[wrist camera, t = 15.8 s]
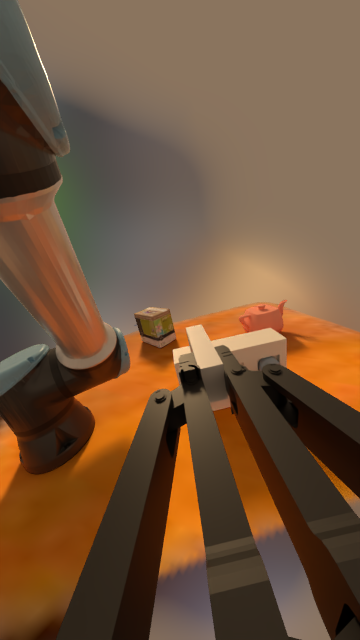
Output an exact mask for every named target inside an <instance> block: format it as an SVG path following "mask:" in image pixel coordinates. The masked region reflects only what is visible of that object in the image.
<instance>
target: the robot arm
mask: <svg viewBox="0 0 360 640" xmlns="http://www.w3.org/2000/svg"><path fill="white" fill-rule="evenodd" d="M69 151H70V145H69V140H68V137H67V134H66V132H65V129H64V125H63V123H62V120H61V117H60V114H59V110H58V107H57V103H56V101H55V98H54V95H53V92H52V89H51V87H50V84H49V81H48V79H47V76H46V73H45V70H44V68H43V65H42V62H41V59H40V57H39V54H38V52H37V49H36V46H35V43H34V41H33V38H32V36H31V33H30V30H29V28H28V25H27V23H26V20H25V17H24V15H23V12H22V10H21V7H20V5H19V2H18V0H0V279H1V280H2V281H3V282H4V284H5V285H6V286H7V287H8V288H9V290H10V291H11V292H12V293H13V294H14V295H15V296H16V298H17V299H18V300H19V301H20V302H21V303H22V305H23V306H24V307H25V308H26V309H27V310H28V312H29V313H30V314H31V315H32V316H33V317H34V318H35V320H36V321H37V322H38V323H39V324H40V325H41V327H42V328H43V329H44V330H45V331H46V332H47V333H48V335H49V336H50V337H51V338H52V339H53V340H54V341H55V343H56V344H57V345H56V348H53V349H49V347H48V346H47V345H45V344H40V345H35V346H32V347H29V348H27V349H24V350H22V351H20V352H18V353H16V354H14V355H12V356H10V357H9V358H7V359H5V360H4V361H2V362H0V415H1V417H2V418H3V419H4V420H5V422H6V423H7V424H8V426H9V427H10V428H11V430H12V431H13V432H14V434H15V435H16V436H17V441H18V446H19V449H20V462H21V464H22V465H23V467H24V468H25V469H26V470H27V471H28V472H29V473H32V474H41V473H46V472H49V471H51V470H53V469H55V468H57V467H59V466H61V465H62V464H64V463H65V462H67V461H68V460H69V459H71V458H72V457H73V456H74V455H75V454H76V453H77V452H78V451H79V450H80V449H81V448H82V447H83V446H84V445H85V443H86V442H87V441H88V439H89V437H90V436H91V434H92V432H93V429H94V425H95V419H94V417H93V415H92V413H91V411H90V410H89V409H88V408H87V407H85V406H83V405H82V404H81V403H80V402H79V401H78V400H76V399H75V398H74V396H75V395H77V394H79V393H82V392H84V391H86V390H89V389H91V388H93V387H95V386H98V385H100V384H102V383H105V382H107V381H109V380H111V379H115V378H118V377H119V376H120V375H122V374H124V373H126V372H127V371H128V370H129V368H130V357H129V354H128V349H127V345H126V342H125V339H124V336H123V334H122V332H121V331H120V329H119V328H112V327H111V326H110V325H108V324H107V323H104V322H103V321H102V318H101V316H100V313H99V311H98V309H97V306H96V304H95V301H94V299H93V296H92V294H91V291H90V289H89V286H88V284H87V281H86V279H85V276H84V274H83V272H82V269H81V267H80V264H79V262H78V259H77V257H76V254H75V252H74V249H73V247H72V245H71V242H70V239H69V237H68V234H67V232H66V229H65V227H64V225H63V222H62V220H61V217H60V215H59V212H58V210H57V207H56V205H55V202H54V197H55V194H56V193H57V191H58V189H59V187H60V185H61V184H62V181H63V180H62V175H61V173H60V170H59V167H58V164H57V161H56V158H55V156H56V155H57V156H58V157H63V156H64V155H65V154H67V153H69ZM186 331H187V336H188V341H189V346H190V350H191V353H188V354H183V355H180V357H179V359H178V360H179V367H180V369H179V377H180V381H181V384H180V385H179V386H178V387H177V388H176V389H174V390H173V391H171V392H170V391H169V390H167V389H159V390H157V391H155V392H154V393H153V394H151V396H150V398H149V400H148V403H147V405H146V408H145V411H144V413H143V416H142V418H141V421H140V423H139V426H138V429H137V431H136V434H135V436H134V439H133V442H132V444H131V447H130V449H129V452H128V454H127V457H126V460H125V462H124V465H123V467H122V470H121V473H120V475H119V478H118V480H117V483H116V485H115V488H114V491H113V493H112V496H111V498H110V501H109V503H108V506H107V509H106V511H105V514H104V516H103V519H102V522H101V524H100V527H99V529H98V532H97V534H96V537H95V540H94V542H93V545H92V547H91V550H90V552H89V555H88V558H87V560H86V563H85V565H84V568H83V571H82V573H81V576H80V578H79V581H78V583H77V586H76V589H75V591H74V594H73V596H72V599H71V601H70V604H69V607H68V609H67V612H66V614H65V617H64V620H63V622H62V625H61V627H60V630H59V632H58V635H57V638H56V640H149V634H150V628H151V621H152V614H153V608H154V601H155V595H156V588H157V581H158V575H159V568H160V562H161V555H162V548H163V542H164V535H165V529H166V522H167V515H168V509H169V502H170V496H171V489H172V482H173V476H174V469H175V462H176V456H177V449H178V443H179V436H180V427H181V426H183V425H185V424H186V423H187V427H188V434H189V441H190V448H191V455H192V462H193V469H194V476H195V482H196V489H197V496H198V503H199V510H200V517H201V524H202V531H203V538H204V545H205V552H206V564H207V565H206V566H207V577H208V586H209V594H210V601H211V608H212V616H213V623H214V630H215V638H216V640H299V639H296V638H292V637H288V635H287V632H286V629H285V626H284V623H283V620H282V617H281V614H280V611H279V608H278V605H277V602H276V599H275V596H274V593H273V590H272V587H271V584H270V581H269V578H268V575H267V572H266V569H265V566H264V563H263V560H262V558H261V555H260V553H259V551H258V549H257V547H256V544H255V541H254V538H253V535H252V532H251V529H250V526H249V523H248V520H247V517H246V514H245V511H244V507H243V504H242V501H241V498H240V495H239V492H238V489H237V486H236V483H235V479H234V476H233V473H232V470H231V467H230V464H229V461H228V458H227V454H226V451H225V448H224V445H223V442H222V439H221V436H220V433H219V430H218V426H217V423H216V420H215V417H214V414H213V411H212V408H211V405H210V403H212V402H216V401H220V400H225V399H228V396H229V398H230V404H231V411H232V414H234V413H235V416H236V418H237V420H238V422H239V425H240V427H241V429H242V431H243V433H244V436H245V438H246V440H247V442H248V445H249V447H250V449H251V451H252V454H253V456H254V458H255V460H256V462H257V465H258V467H259V469H260V471H261V474H262V476H263V478H264V480H265V483H266V485H267V487H268V489H269V492H270V494H271V496H272V498H273V500H274V503H275V505H276V507H277V509H278V512H279V514H280V516H281V518H282V521H283V523H284V525H285V527H286V529H287V532H288V534H289V536H290V538H291V541H292V543H293V545H294V547H295V550H296V552H297V554H298V556H299V558H300V561H301V563H302V565H303V567H304V570H305V572H306V575H307V578H308V580H309V584H310V587H311V590H312V594H313V597H314V599H315V602H316V605H317V607H318V610H319V612H320V614H321V617H322V620H323V622H324V624H325V627H326V629H327V631H328V634H329V636H330V638H331V640H360V518H358V516H357V515H356V514H355V513H354V511H353V510H352V509H351V507H350V506H349V505H348V503H347V502H346V501H345V499H344V498H343V497H342V495H341V494H340V492H339V491H338V490H337V488H336V487H335V486H334V484H333V483H332V482H331V480H330V479H329V478H328V476H327V475H326V474H325V472H324V471H323V470H322V468H321V467H320V466H319V464H318V463H317V461H316V460H315V459H314V457H313V456H312V455H311V453H310V452H309V451H308V449H309V450H310V451H311V452H312V453H313V454H314V455H315V456H316V457H317V458H318V459H319V460H321V461H322V462H323V463H324V464H325V465H326V466H327V467H328V468H329V469H330V470H331V471H332V472H333V473H334V474H335V475H336V476H337V477H338V478H339V479H340V480H341V481H342V482H343V483H344V484H345V485H346V486H348V487H349V488H350V489H351V490H352V491H353V492H354V493H355V494H356V495H357V496H358V497H359V498H360V412H358V411H356V410H355V409H353V408H352V407H350V406H348V405H347V404H345V403H343V402H342V401H340V400H338V399H337V398H335V397H333V396H332V395H330V394H328V393H327V392H325V391H324V390H322V389H320V388H319V387H317V386H315V385H314V384H312V383H310V382H309V381H307V380H305V379H304V378H302V377H300V376H299V375H297V374H296V373H294V372H292V371H291V370H289V369H287V368H286V367H284V366H282V365H280V364H267V365H265V366H263V368H262V371H251V370H248V369H247V368H246V367H245V366H243V365H240V363H239V362H238V361H237V359H236V358H235V356H234V355H233V354H232V352H231V351H230V349H229V348H228V347H226V346H225V345H221V346H216V347H214V346H213V345H212V343H211V341H210V339H209V337H208V336H207V334H206V332H205V330H204V328H203V327H202V325H197V326H192V327H188V328H186ZM227 393H228V395H227ZM233 411H234V412H233ZM305 446H306V447H307V448H308V449H307V448H306V447H305Z"/></svg>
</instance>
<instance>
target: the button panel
mask: <svg viewBox="0 0 360 640" xmlns="http://www.w3.org/2000/svg"><path fill="white" fill-rule="evenodd" d="M211 343H212V345H213V346H214V347H216V346H221V345H225V346H226V347H228V348H229V349H230V351H231V352H232V354H233V355H234V356H235V358H236V359H237V361H238V362H239V363H240V365H243V366H245V367H246V368H247V369H248V370H251V371H259V370H258V362H259V361H260V360H261V359H262V358H266V357H270V356H272V357H274V358H275V359H276V360H277V361H278V362H279V363H280V364H281V365H282V366H284V367H286V357H287V338H285V337H284V336H282V335H281V334H279V333H278V332H276V331H275V330H273V329H272V328H267V329H262V330H258V331H254V332H249V333H245V334H240V335H236V336H231V337H227V338H222V339H218V340H214V341H211ZM188 353H191V350H190V346H187V347H183V348H178V349H174V350H173V357H174V365H175V369H176V373H177V377H178V381H179V385H180V384H181V381H180V377H179V369H180V367H179V360H178V359H179V357H180V355H183V354H188ZM227 395H228V393H227ZM210 405H211V408H212V411H215V410H220V409H224V408H228V407H231V404H230V398H229V396H228V399H225V400H220V401H216V402H212V403H210Z"/></svg>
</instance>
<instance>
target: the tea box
mask: <svg viewBox="0 0 360 640" xmlns="http://www.w3.org/2000/svg"><path fill="white" fill-rule="evenodd" d="M134 315H135V319H136V322H137V325H138V328H139V332H140V335H141V338H142V341H143V342H146V343H148V344H151V345H154V346H156V347H159V348H162V347H163V346H165V345H167V344H169V343H170V342H172V341H173V340H175V339H176V335H175V331H174V327H173V322H172V318H171V314H170V310H169V309H164V308H155V307H150V308H147V309H145V310H142V311H140V312H137V313H135V314H134Z"/></svg>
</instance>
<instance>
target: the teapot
mask: <svg viewBox="0 0 360 640" xmlns="http://www.w3.org/2000/svg"><path fill="white" fill-rule="evenodd" d="M286 301H287V300H284V301H282V302H280V304H279V306H278V308H276V307H273V306H270V305H267V304H259V305H257V306H255V307H251V308H249V309H247V310H246V311H245V314H244V315H242V316H240V317H239V321H240V322H241V323H242V324H243V328H244V329H245V331H246V332H247V333H249V332H254V331H258V330H262V329H267V328H272V329H273V330H275V331H276V332H280V331H281V330H282V328H283V319H282V315H283V306H284V303H285V302H286Z"/></svg>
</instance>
